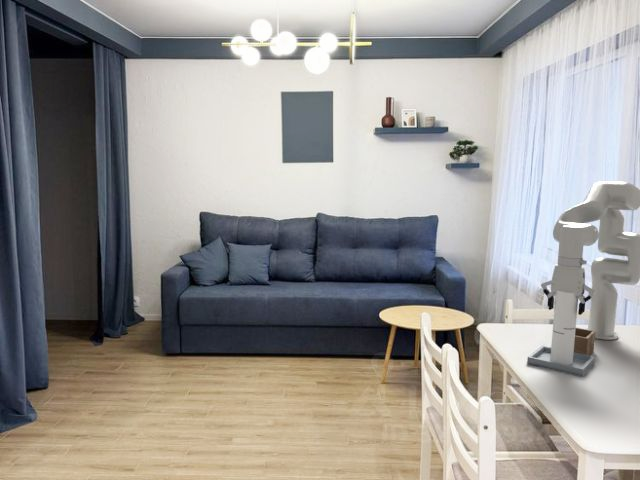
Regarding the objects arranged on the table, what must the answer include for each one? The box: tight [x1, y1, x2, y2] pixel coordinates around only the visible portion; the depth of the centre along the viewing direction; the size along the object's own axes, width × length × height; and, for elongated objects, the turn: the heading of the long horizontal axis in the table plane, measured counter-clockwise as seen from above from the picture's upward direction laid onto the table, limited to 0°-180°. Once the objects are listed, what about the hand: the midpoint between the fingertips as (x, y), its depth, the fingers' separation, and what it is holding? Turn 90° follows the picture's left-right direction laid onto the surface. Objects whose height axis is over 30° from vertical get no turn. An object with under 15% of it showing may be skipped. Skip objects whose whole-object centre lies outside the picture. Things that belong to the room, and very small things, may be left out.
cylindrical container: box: [550, 291, 579, 365], centre depth 200 cm, size 7×7×25 cm
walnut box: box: [574, 327, 596, 356], centre depth 213 cm, size 12×12×8 cm
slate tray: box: [526, 345, 596, 378], centre depth 202 cm, size 16×18×2 cm
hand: (565, 311), depth 199 cm, fingers open, 9 cm apart
